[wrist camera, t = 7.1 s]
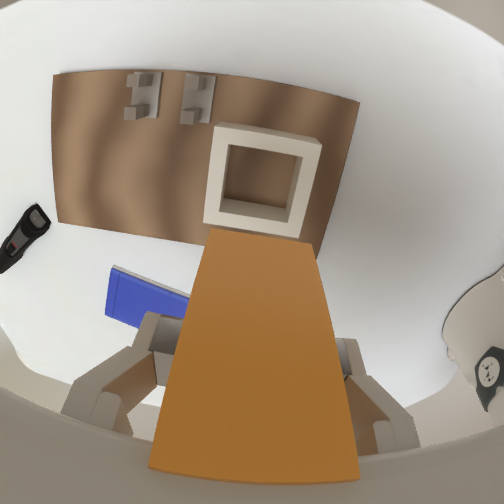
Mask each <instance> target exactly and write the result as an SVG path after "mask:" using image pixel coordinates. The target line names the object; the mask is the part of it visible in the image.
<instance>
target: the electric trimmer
mask: <svg viewBox="0 0 504 504" xmlns="http://www.w3.org/2000/svg"><path fill="white" fill-rule="evenodd" d="M50 223H51V222H50V220H49V218H48V217H47V216H46V214H45V213H44V211H43V210H42V209H41V207H40V206H39V205H38V204H35V205H33V206H31V207H30V208H28V209H27V210H26V211H25V212H24V214H23V216H22V218H21V219H20V220H19V222H18V223H17V225H16V226H15V228H14V229H13V231H12V232H11V234H10V235H9V237H7V238H6V239H5V241H4V242H3V244H2V246H1V248H0V274H2V273H4V272H5V271H6V270H8V269H9V268H10V267H11V266H12V265H14V264H15V263H16V262H17V261H18V260H19V259H20V258H22V256H23V254H22V253H23V252H24V251H25V250H26V249H27V248H28V247H29V246H30V245H31V244H32V243H33V242H34V241H35V240H36V239H37V238H39V237H40V236H42V235H44V234H45V233H46V231H47V230H48V229H49V227H50V226H49V225H50Z"/></svg>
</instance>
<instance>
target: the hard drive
mask: <svg viewBox="0 0 504 504" xmlns="http://www.w3.org/2000/svg"><path fill="white" fill-rule="evenodd" d="M189 299H190V295H189V294H187V293H184V292H181V291H179V290H176V289H173V288H171V287H168V286H166V285H163V284H160V283H158V282H155V281H153V280H150V279H148V278H145V277H143V276H140V275H138V274H135V273H133V272H130V271H128V270H125V269H123V268H121V267H118V266H116V265H113V267H112V268H111V272H110V278H109V285H108V292H107V300H106V308H105V315H107V316H109V317H111V318H114V319H116V320H119V321H121V322H123V323H126V324H128V325H131V326H133V327H136V328H138V329H139V327H140V325H141V322H142V320H143V317H144V315H145V313H146V312H147V311H150V312H154V313H159V314H165V315H169V316H174V317H179V318H184V317H185V313H186V309H187V306H188V302H189Z"/></svg>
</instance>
